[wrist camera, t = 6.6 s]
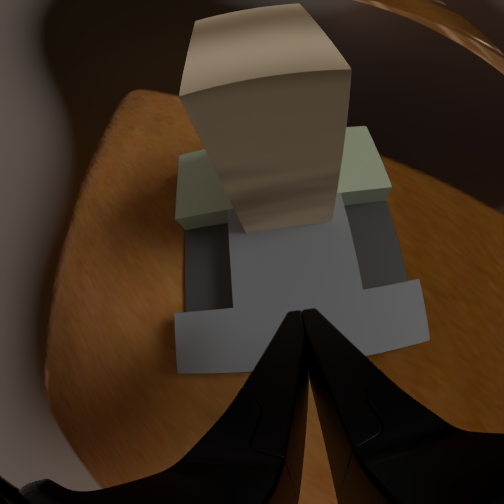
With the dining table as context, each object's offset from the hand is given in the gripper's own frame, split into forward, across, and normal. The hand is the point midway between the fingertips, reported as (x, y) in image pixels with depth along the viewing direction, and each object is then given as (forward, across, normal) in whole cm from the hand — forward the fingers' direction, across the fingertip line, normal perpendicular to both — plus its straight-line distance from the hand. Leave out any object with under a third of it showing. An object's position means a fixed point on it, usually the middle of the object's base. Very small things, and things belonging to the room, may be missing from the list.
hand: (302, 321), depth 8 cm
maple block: (+11, 0, -3) cm, 11 cm away
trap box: (+10, 0, +1) cm, 10 cm away
